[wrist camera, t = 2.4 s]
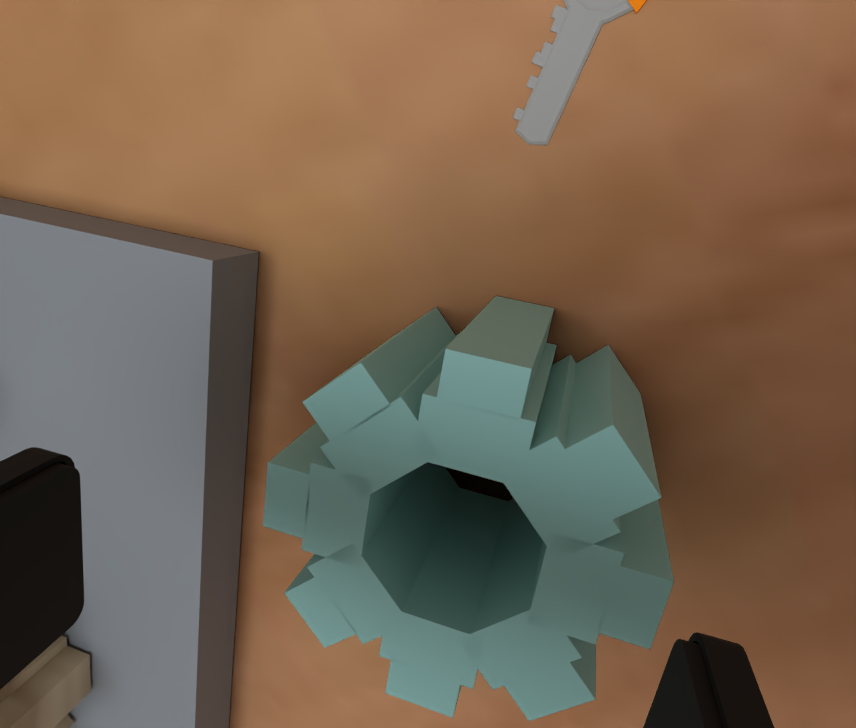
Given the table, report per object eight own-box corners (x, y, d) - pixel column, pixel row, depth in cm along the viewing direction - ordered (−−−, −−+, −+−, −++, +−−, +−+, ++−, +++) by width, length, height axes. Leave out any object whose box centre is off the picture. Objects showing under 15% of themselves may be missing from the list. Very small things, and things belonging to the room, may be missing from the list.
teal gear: (686, 335, 13) (732, 415, 9) (604, 599, 16) (606, 774, 11) (379, 271, 15) (279, 309, 10) (346, 520, 17) (253, 644, 12)
